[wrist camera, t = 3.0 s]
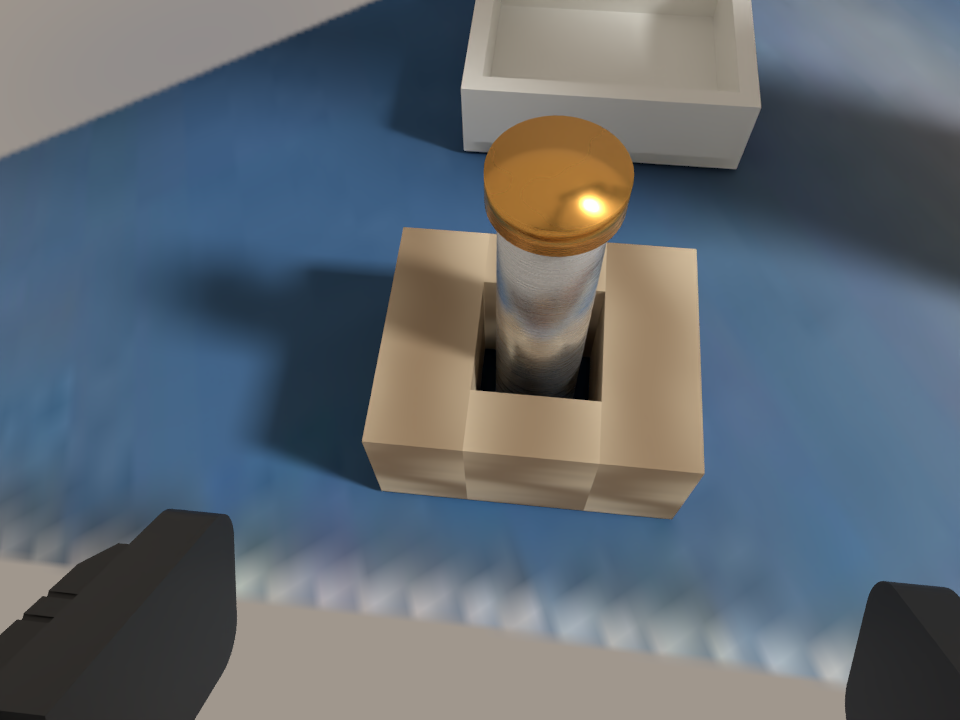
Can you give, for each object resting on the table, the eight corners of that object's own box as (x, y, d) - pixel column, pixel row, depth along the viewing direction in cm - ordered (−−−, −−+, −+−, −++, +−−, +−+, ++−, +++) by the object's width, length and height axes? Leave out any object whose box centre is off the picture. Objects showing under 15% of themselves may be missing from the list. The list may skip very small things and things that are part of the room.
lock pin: (581, 363, 29) (634, 119, 18) (577, 447, 27) (633, 235, 16) (492, 356, 29) (491, 111, 18) (482, 438, 27) (475, 223, 16)
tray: (725, 18, 38) (746, -49, 35) (736, 169, 33) (761, 107, 30) (486, 4, 38) (486, -62, 35) (463, 150, 34) (460, 88, 31)
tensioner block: (669, 319, 29) (696, 249, 25) (672, 519, 26) (704, 473, 22) (415, 298, 30) (403, 227, 26) (381, 490, 26) (361, 441, 22)
